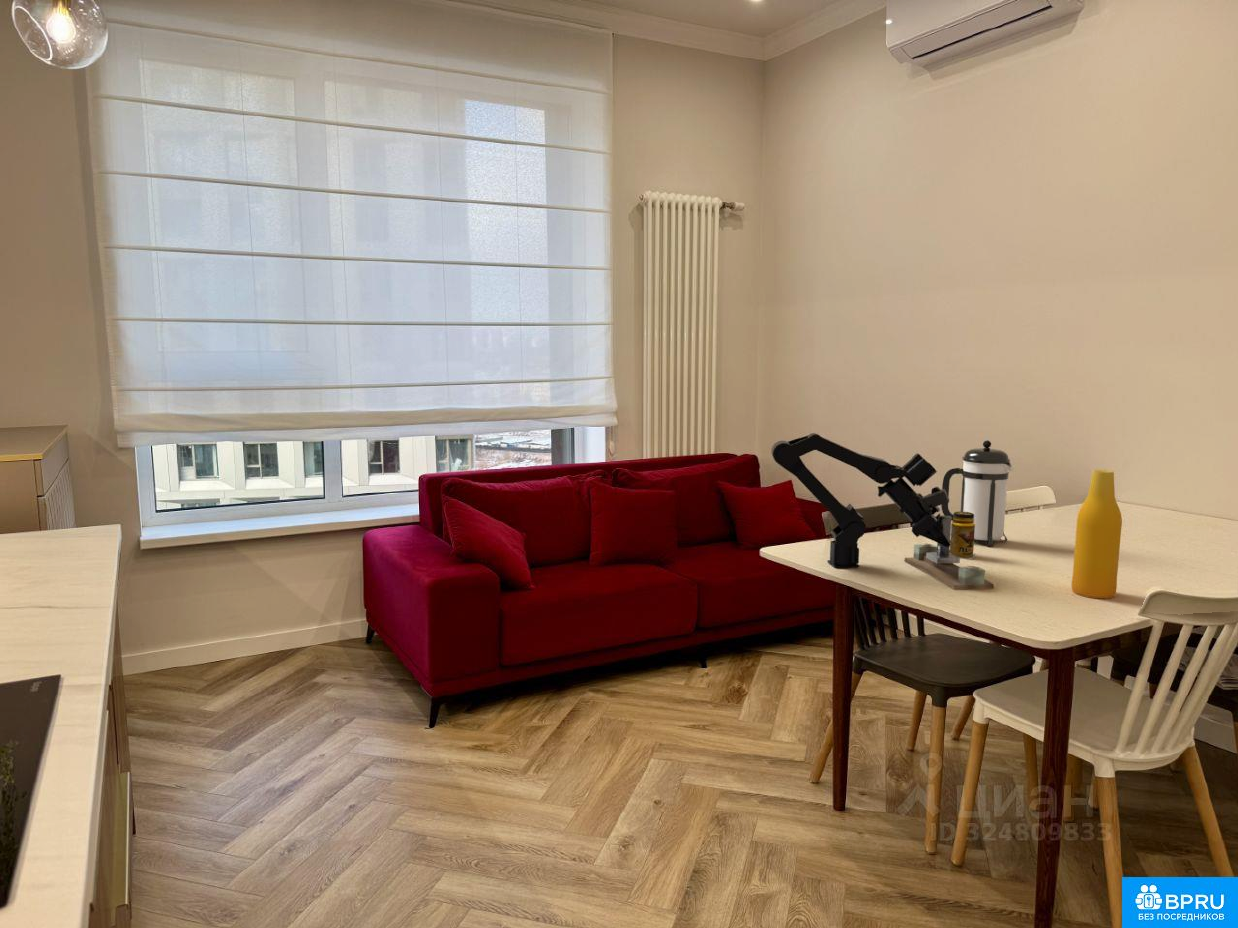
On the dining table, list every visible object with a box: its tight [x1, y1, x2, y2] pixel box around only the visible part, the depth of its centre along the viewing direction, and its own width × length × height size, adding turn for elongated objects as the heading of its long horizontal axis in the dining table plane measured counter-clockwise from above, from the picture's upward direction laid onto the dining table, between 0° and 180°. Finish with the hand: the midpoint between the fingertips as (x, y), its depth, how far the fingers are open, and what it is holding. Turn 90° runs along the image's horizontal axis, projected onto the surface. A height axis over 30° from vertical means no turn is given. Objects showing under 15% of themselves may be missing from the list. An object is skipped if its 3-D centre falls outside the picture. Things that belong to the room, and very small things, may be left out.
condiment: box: [949, 510, 977, 560], centre depth 242 cm, size 7×8×12 cm
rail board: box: [903, 542, 995, 590], centre depth 222 cm, size 10×27×5 cm, turn 7°
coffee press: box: [940, 440, 1014, 548], centre depth 258 cm, size 17×16×30 cm
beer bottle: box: [1071, 469, 1123, 600], centre depth 204 cm, size 9×9×29 cm
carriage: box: [926, 514, 961, 564], centre depth 223 cm, size 6×6×11 cm
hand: (949, 544), depth 223 cm, fingers closed on carriage, 3 cm apart
